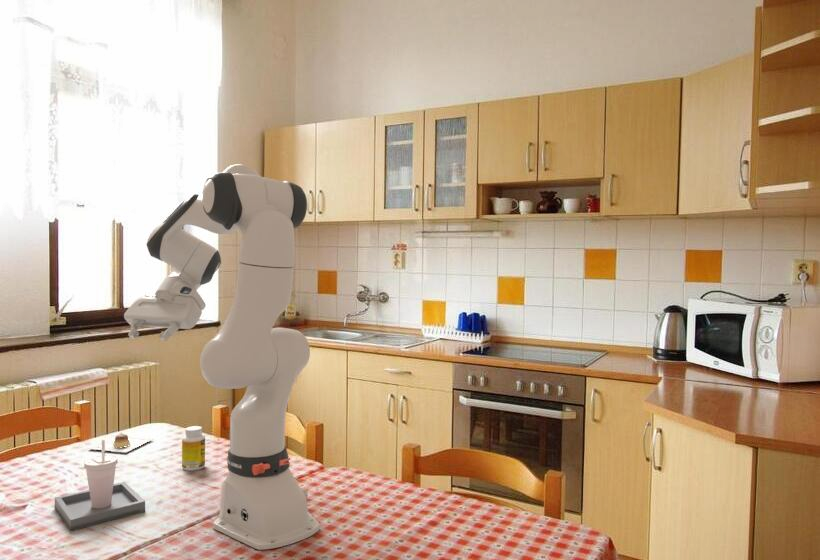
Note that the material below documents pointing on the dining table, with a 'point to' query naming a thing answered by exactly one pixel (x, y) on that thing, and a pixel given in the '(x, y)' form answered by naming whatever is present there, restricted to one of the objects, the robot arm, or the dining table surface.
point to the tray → (81, 513)
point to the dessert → (120, 442)
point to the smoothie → (101, 478)
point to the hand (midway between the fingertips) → (146, 338)
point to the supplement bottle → (193, 449)
